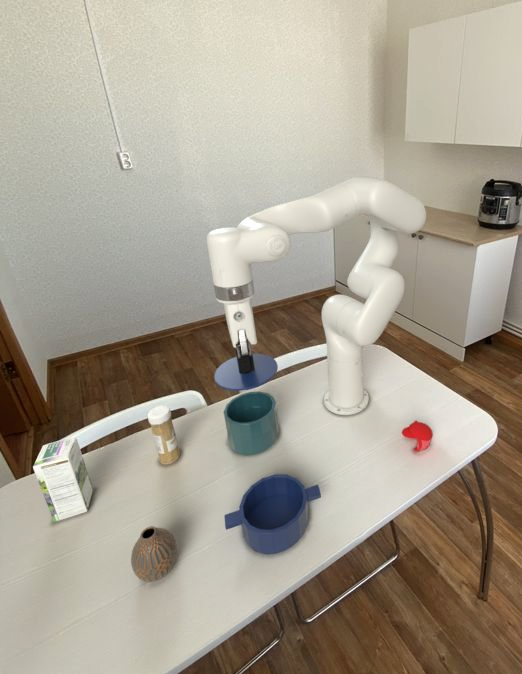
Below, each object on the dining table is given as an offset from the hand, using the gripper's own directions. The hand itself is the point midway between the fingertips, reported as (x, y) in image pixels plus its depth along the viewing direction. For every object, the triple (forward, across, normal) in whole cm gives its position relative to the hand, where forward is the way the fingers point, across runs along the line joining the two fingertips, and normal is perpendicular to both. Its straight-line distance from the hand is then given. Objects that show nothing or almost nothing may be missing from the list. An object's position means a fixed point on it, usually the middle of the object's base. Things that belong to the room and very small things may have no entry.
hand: (246, 366), depth 84 cm
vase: (+23, -21, +20) cm, 37 cm away
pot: (+23, +4, 0) cm, 23 cm away
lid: (+1, 0, 0) cm, 1 cm away
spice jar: (+23, +5, +20) cm, 31 cm away
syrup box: (+23, -2, +37) cm, 43 cm away
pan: (+23, -21, -1) cm, 31 cm away
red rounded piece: (+23, -14, -36) cm, 45 cm away
